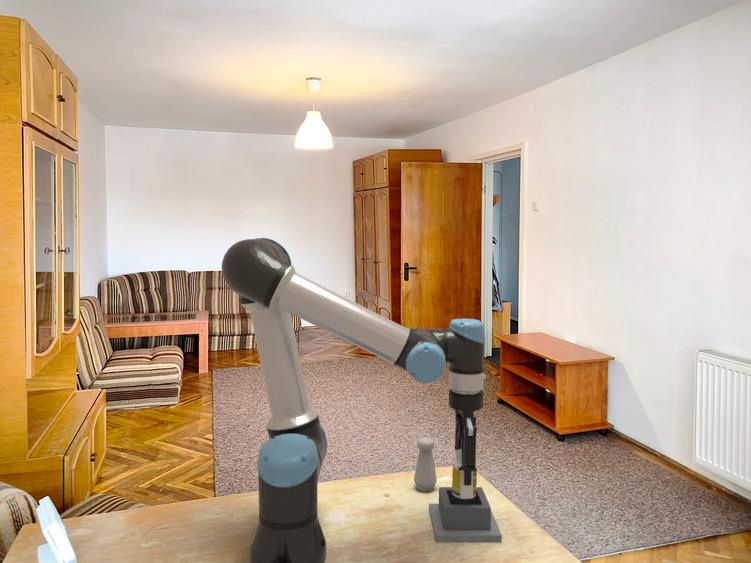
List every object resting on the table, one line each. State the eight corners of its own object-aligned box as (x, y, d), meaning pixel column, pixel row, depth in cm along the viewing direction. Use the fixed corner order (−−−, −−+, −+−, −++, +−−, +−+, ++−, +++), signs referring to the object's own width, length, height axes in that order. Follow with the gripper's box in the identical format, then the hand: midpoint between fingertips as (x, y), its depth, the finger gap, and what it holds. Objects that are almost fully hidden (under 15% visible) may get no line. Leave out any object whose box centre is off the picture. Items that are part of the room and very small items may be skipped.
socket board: (435, 542, 120) (436, 512, 119) (428, 509, 134) (429, 483, 133) (501, 542, 120) (502, 512, 119) (487, 509, 134) (488, 483, 133)
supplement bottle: (476, 501, 123) (477, 457, 122) (451, 498, 124) (451, 455, 123) (476, 490, 128) (477, 448, 127) (452, 487, 129) (453, 446, 129)
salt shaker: (440, 486, 146) (441, 438, 145) (430, 495, 141) (431, 445, 140) (420, 481, 149) (420, 433, 148) (409, 489, 144) (410, 440, 143)
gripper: (492, 402, 115) (489, 511, 117) (475, 378, 133) (473, 473, 135) (455, 402, 115) (453, 511, 117) (443, 378, 133) (442, 473, 135)
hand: (464, 490), depth 126 cm, fingers closed on supplement bottle, 5 cm apart
